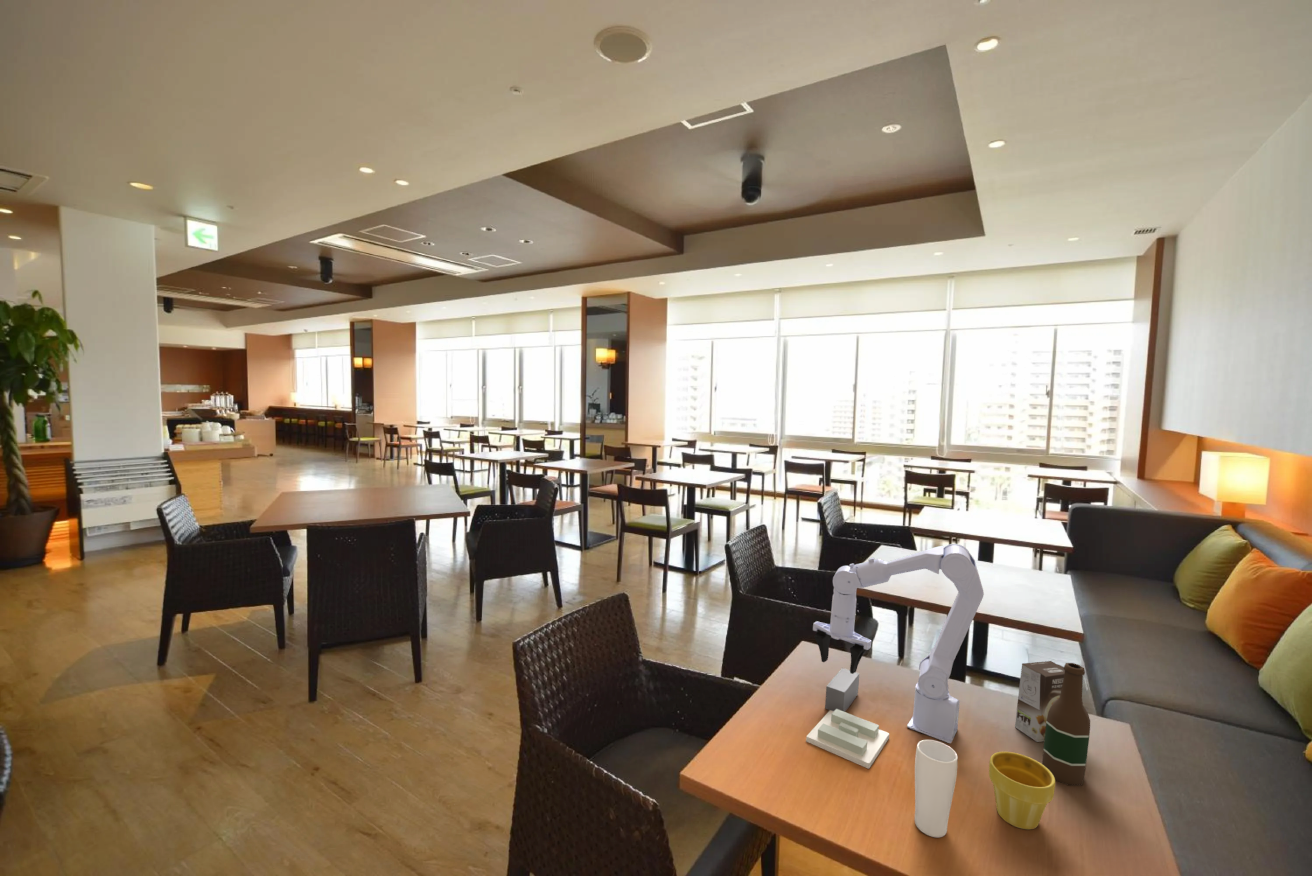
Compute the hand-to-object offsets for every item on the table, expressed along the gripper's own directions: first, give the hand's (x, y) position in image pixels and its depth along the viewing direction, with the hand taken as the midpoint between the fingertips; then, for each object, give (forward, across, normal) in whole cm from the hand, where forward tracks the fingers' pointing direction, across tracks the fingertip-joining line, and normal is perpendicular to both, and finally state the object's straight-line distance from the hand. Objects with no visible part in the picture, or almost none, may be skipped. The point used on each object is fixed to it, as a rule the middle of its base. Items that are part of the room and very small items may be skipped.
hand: (838, 666), depth 144 cm
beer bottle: (+9, +46, +9) cm, 48 cm away
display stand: (+10, +9, -13) cm, 18 cm away
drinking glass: (+9, +31, -27) cm, 42 cm away
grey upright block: (+10, +1, +2) cm, 10 cm away
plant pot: (+9, +42, -12) cm, 45 cm away
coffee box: (+9, +40, +24) cm, 48 cm away
